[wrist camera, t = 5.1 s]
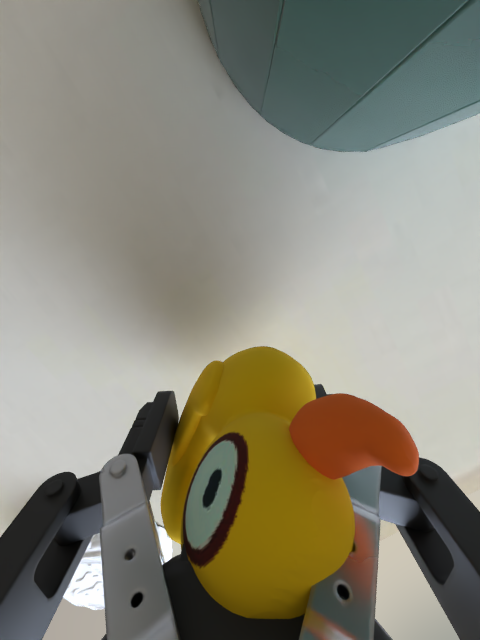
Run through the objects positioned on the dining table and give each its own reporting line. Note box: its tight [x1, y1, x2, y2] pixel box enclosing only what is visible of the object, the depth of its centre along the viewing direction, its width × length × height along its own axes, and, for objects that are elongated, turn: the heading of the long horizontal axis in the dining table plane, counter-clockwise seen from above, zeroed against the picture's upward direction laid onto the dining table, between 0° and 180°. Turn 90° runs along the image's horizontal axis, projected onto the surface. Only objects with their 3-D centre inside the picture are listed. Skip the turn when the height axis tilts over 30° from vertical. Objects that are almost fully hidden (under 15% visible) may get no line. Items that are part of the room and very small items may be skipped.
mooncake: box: [63, 523, 172, 610], centre depth 25 cm, size 12×12×4 cm
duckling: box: [161, 346, 419, 619], centre depth 10 cm, size 11×5×10 cm, turn 145°
